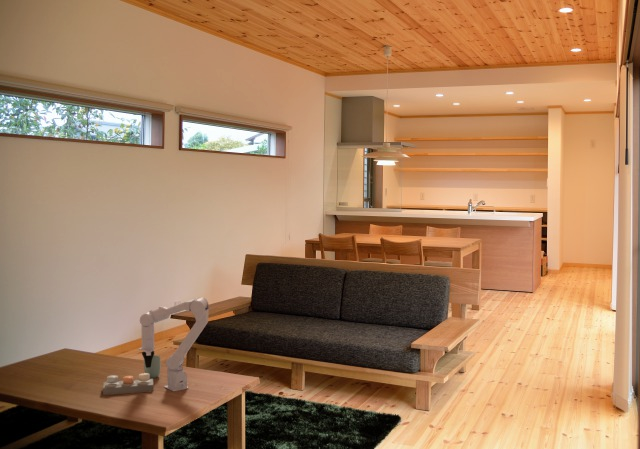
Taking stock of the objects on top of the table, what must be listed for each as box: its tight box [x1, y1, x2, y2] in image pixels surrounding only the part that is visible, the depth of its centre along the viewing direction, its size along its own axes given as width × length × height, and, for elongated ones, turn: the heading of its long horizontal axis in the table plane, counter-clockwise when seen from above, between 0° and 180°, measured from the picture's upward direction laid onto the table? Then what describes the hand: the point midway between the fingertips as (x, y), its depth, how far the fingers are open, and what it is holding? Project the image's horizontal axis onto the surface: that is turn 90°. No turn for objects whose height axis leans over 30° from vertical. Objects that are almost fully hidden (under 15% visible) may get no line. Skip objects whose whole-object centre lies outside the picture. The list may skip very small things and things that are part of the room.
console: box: [102, 378, 154, 396], centre depth 312 cm, size 22×10×3 cm, turn 105°
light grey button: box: [106, 374, 119, 384], centre depth 310 cm, size 5×5×2 cm
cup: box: [143, 354, 162, 379], centre depth 332 cm, size 8×8×10 cm
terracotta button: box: [122, 375, 135, 384], centre depth 312 cm, size 5×5×2 cm
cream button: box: [138, 372, 151, 381], centre depth 313 cm, size 5×5×2 cm
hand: (148, 367), depth 316 cm, fingers closed
